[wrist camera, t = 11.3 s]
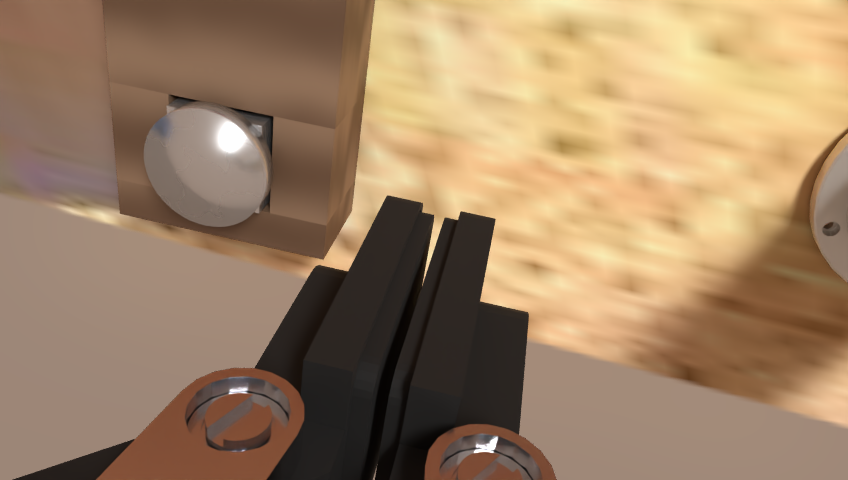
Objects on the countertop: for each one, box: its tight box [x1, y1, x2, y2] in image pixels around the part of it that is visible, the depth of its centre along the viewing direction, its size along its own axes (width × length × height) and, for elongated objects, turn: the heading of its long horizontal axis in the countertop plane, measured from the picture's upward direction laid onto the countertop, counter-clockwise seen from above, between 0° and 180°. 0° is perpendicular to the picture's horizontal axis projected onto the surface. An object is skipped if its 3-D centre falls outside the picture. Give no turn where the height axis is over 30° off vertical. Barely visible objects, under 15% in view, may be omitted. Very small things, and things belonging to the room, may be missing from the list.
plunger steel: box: [144, 97, 274, 227], centre depth 39 cm, size 6×6×7 cm
